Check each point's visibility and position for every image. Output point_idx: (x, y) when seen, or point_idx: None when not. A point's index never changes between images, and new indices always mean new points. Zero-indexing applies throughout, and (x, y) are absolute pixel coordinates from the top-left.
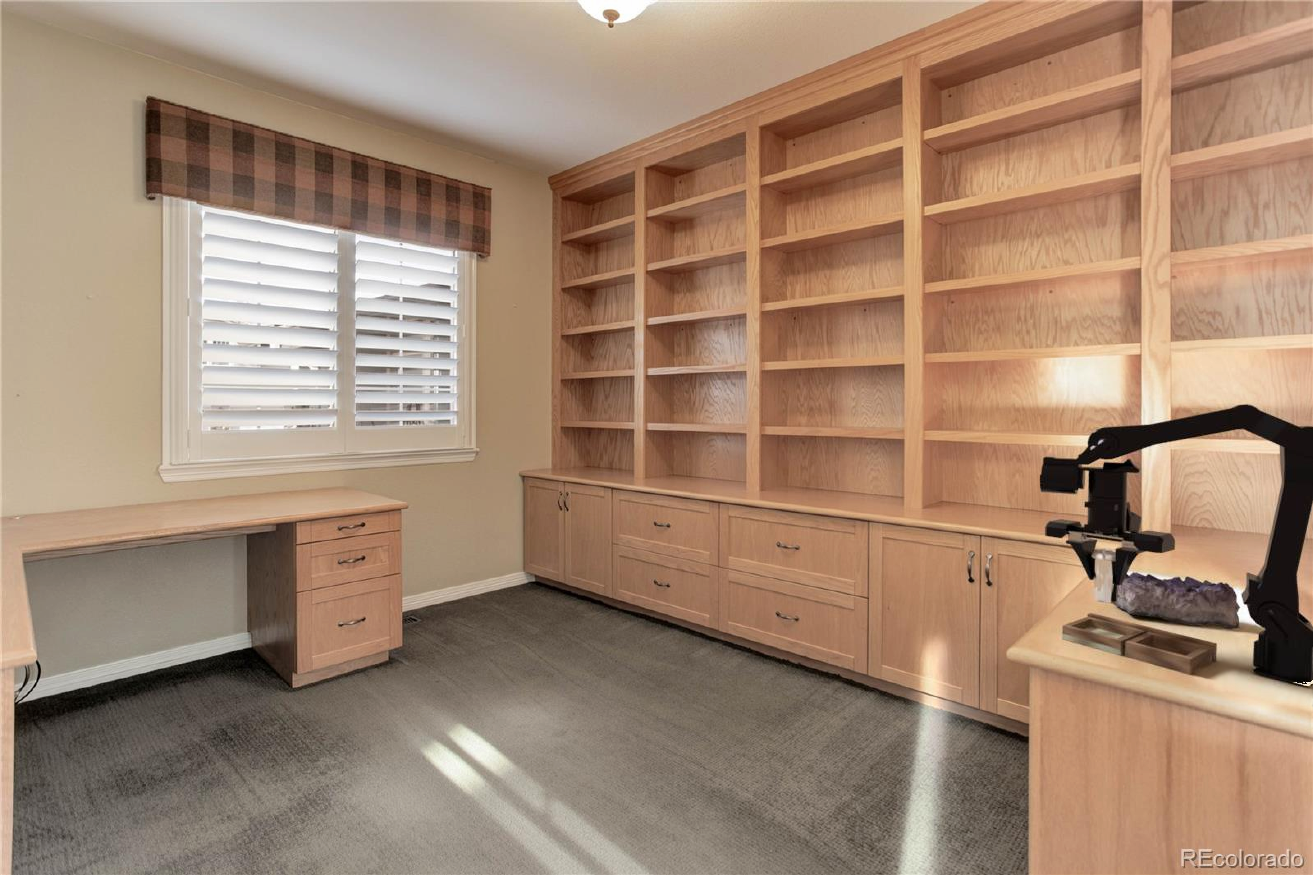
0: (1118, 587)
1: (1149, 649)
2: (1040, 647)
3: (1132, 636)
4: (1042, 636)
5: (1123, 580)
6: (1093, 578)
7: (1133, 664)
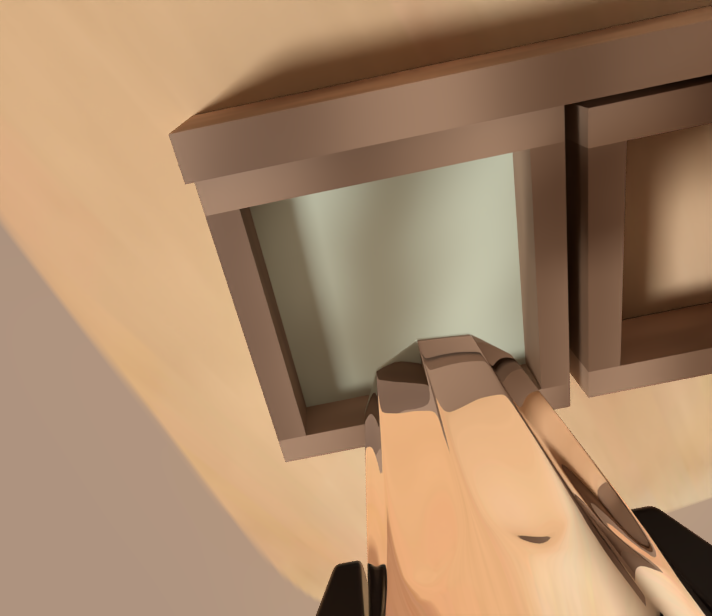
0: (575, 439)
1: (693, 372)
2: (332, 553)
3: (566, 283)
4: (229, 460)
5: (700, 541)
6: (367, 587)
7: (619, 403)
